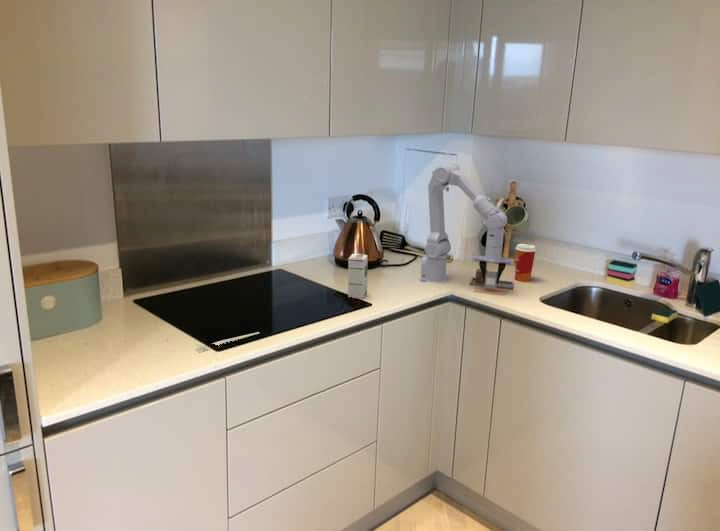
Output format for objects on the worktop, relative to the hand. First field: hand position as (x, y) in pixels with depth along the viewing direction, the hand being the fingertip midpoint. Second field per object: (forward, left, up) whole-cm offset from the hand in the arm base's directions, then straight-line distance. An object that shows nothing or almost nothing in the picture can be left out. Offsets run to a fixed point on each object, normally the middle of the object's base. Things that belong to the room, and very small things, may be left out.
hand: (490, 282), depth 215 cm
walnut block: (-4, +8, -3) cm, 9 cm away
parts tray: (0, +8, -4) cm, 9 cm away
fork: (-67, -72, -4) cm, 98 cm away
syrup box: (-44, -21, -4) cm, 49 cm away
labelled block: (0, 0, -2) cm, 2 cm away
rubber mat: (0, 0, -4) cm, 4 cm away
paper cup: (+11, +19, -4) cm, 22 cm away
